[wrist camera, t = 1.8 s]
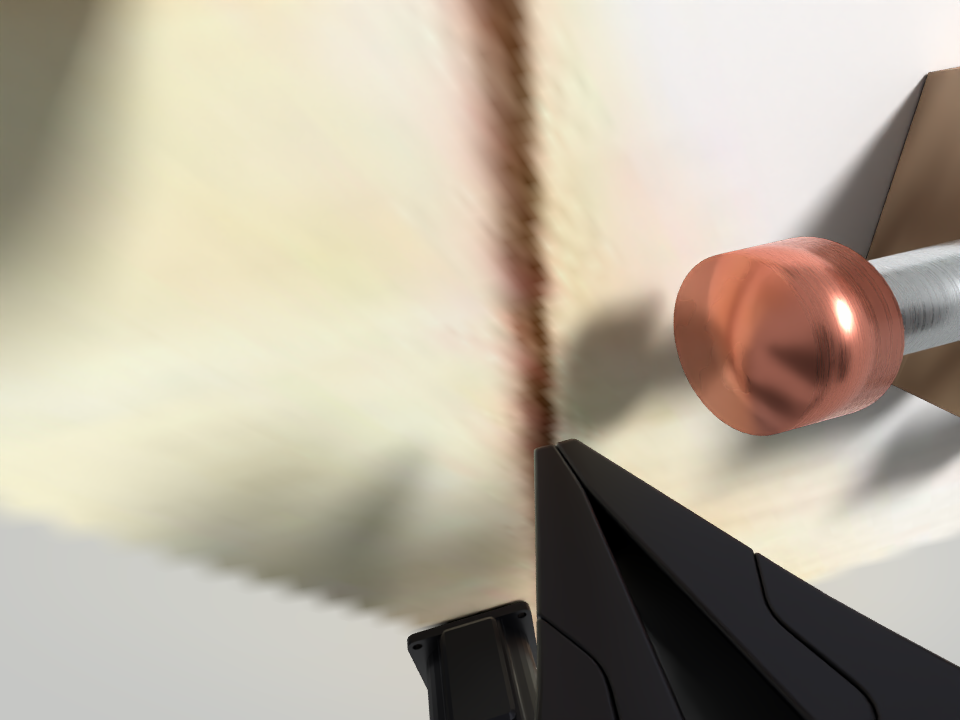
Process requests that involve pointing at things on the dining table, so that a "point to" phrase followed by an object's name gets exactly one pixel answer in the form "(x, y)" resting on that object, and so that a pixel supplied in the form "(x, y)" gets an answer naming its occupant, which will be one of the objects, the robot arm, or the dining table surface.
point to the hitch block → (927, 222)
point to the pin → (809, 328)
